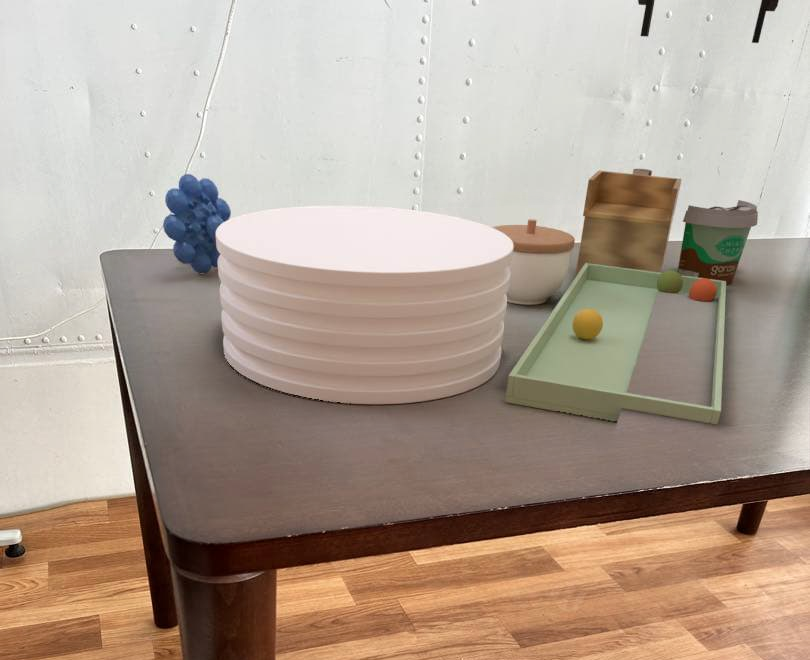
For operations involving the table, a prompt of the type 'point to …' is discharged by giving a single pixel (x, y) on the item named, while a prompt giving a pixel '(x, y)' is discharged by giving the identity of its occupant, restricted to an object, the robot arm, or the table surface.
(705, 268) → the food container
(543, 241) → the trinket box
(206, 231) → the grapes
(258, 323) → the plate stack
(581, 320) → the ball mustard
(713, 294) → the ball terracotta
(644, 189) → the scoop
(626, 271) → the tray
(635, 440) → the table surface
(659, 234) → the riser
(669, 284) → the ball olive
